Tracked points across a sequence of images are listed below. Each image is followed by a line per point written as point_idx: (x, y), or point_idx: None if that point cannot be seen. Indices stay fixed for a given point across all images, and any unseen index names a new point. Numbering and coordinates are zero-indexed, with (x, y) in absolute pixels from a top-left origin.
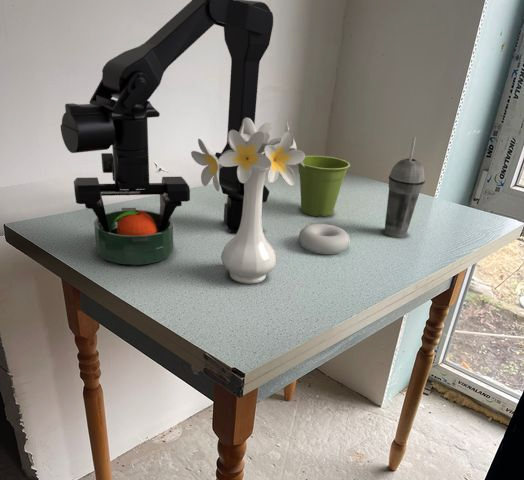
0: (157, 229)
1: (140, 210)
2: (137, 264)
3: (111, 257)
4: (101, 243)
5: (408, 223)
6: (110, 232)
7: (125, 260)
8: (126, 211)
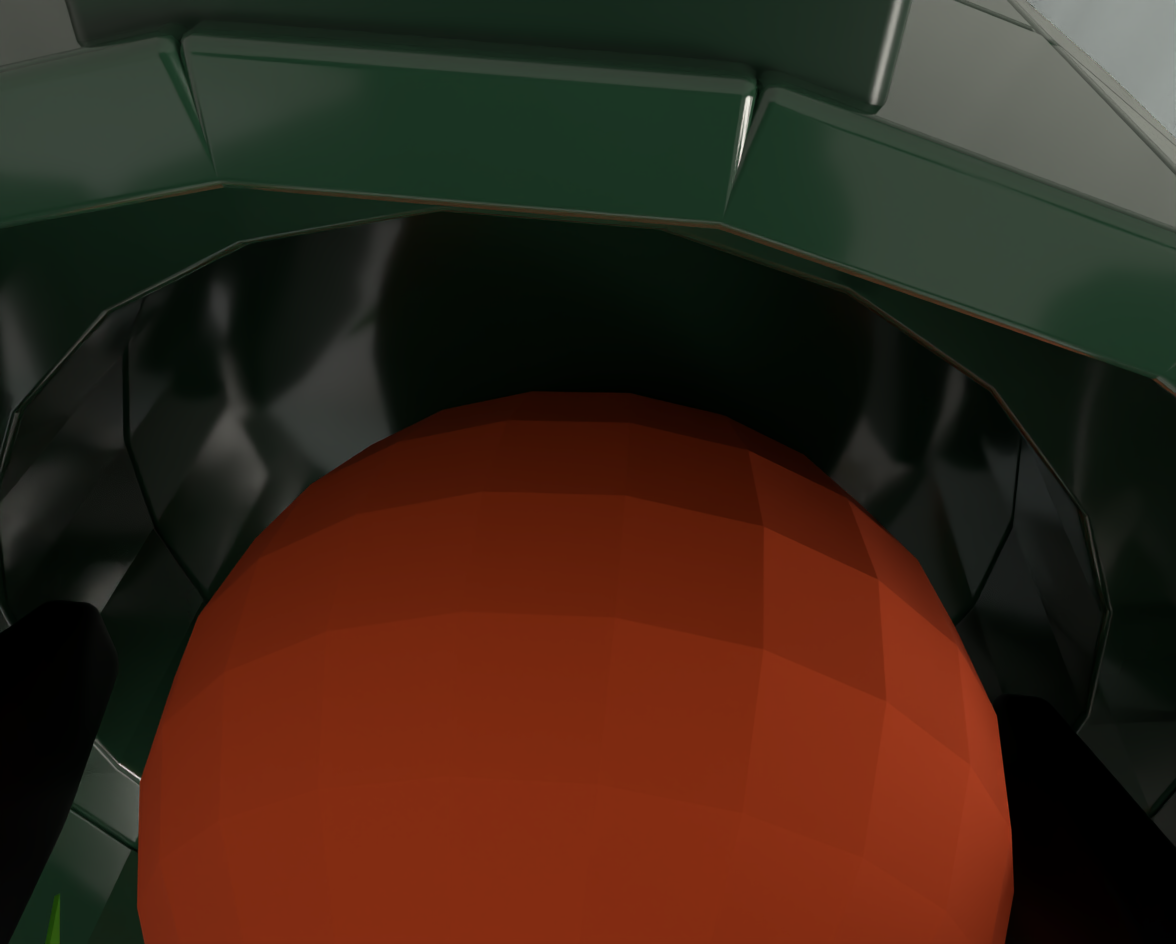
0: (1130, 542)
1: (1062, 270)
2: None
3: None
4: None
5: None
6: (51, 385)
7: None
8: (298, 190)
